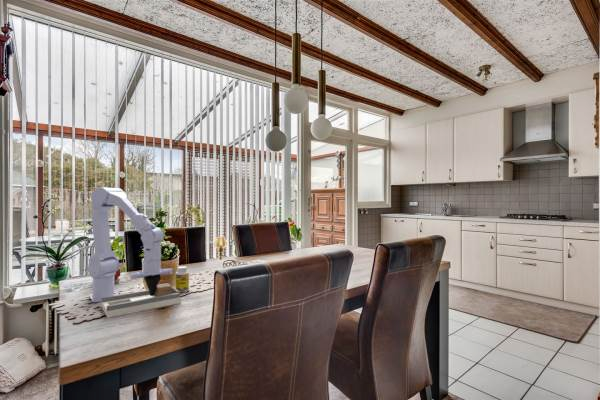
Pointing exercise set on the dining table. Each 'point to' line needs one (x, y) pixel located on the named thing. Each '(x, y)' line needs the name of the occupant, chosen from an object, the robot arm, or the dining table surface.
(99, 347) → the dining table surface
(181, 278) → the supplement bottle
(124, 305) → the deck
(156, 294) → the block
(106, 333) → the dining table surface
